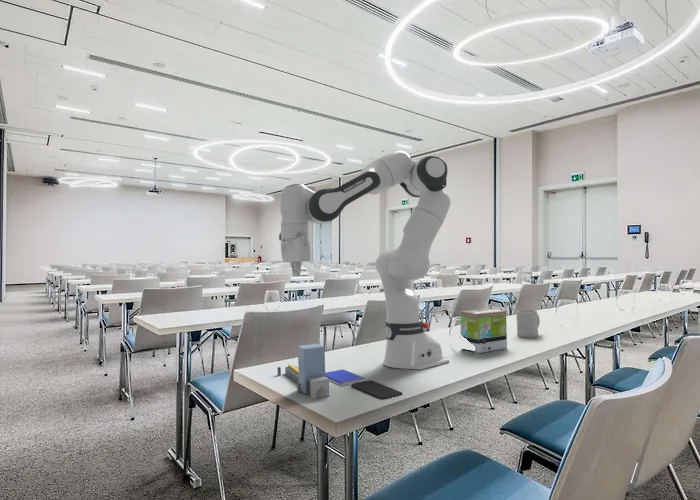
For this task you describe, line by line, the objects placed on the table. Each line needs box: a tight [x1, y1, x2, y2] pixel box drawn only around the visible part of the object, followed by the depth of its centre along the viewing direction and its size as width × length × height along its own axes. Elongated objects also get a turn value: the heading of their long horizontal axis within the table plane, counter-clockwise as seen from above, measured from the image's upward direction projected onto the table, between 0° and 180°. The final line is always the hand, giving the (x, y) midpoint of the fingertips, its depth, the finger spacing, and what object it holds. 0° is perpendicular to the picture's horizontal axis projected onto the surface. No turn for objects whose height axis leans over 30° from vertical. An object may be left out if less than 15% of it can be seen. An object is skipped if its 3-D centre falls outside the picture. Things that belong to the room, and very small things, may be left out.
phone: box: [350, 379, 403, 401], centre depth 112 cm, size 7×1×15 cm
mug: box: [515, 309, 541, 339], centre depth 183 cm, size 12×8×11 cm
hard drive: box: [325, 369, 367, 387], centre depth 124 cm, size 2×8×12 cm
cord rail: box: [277, 364, 330, 399], centre depth 120 cm, size 8×28×4 cm, turn 25°
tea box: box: [459, 308, 508, 354], centre depth 159 cm, size 15×10×15 cm
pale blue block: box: [297, 343, 326, 394], centre depth 114 cm, size 6×5×12 cm
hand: (296, 276), depth 135 cm, fingers closed
